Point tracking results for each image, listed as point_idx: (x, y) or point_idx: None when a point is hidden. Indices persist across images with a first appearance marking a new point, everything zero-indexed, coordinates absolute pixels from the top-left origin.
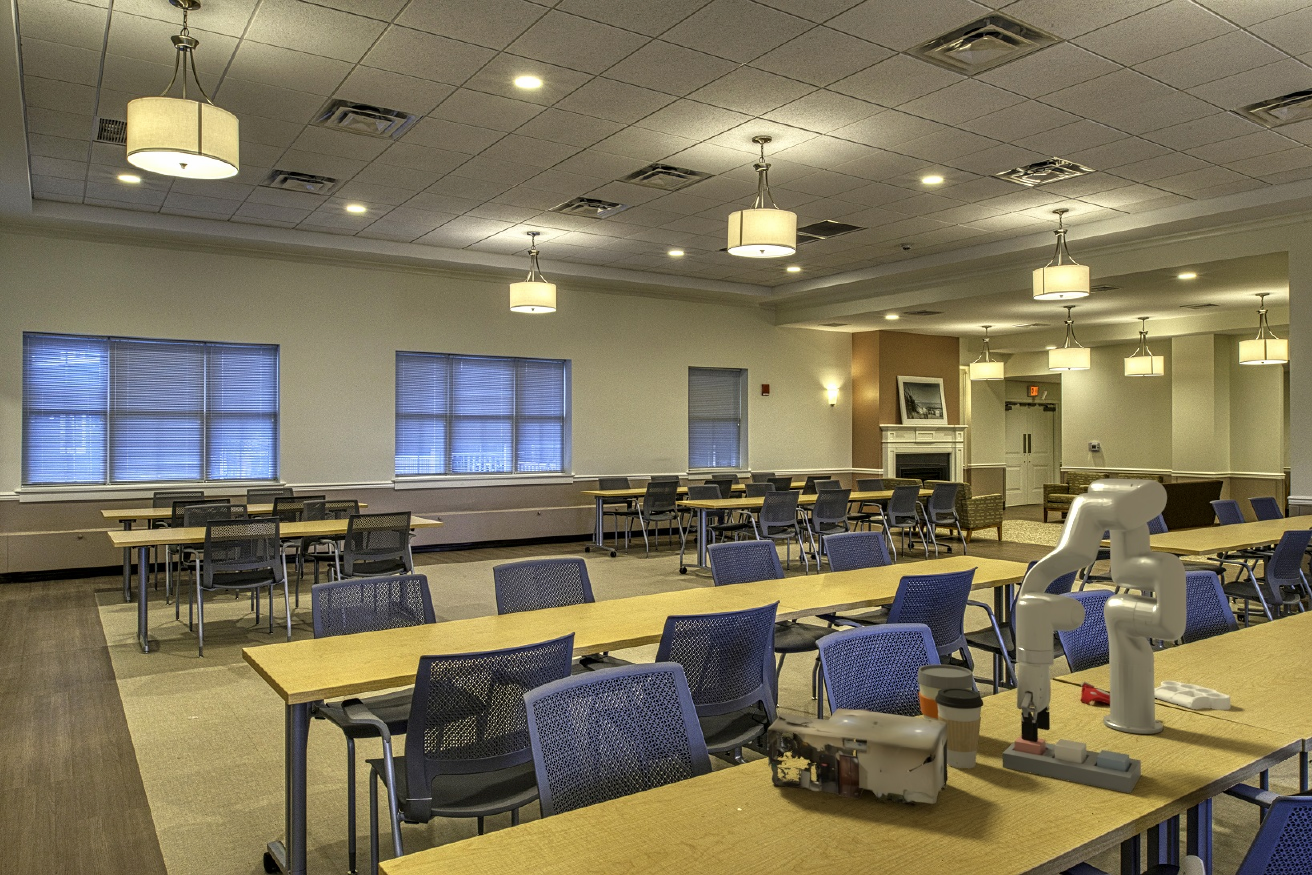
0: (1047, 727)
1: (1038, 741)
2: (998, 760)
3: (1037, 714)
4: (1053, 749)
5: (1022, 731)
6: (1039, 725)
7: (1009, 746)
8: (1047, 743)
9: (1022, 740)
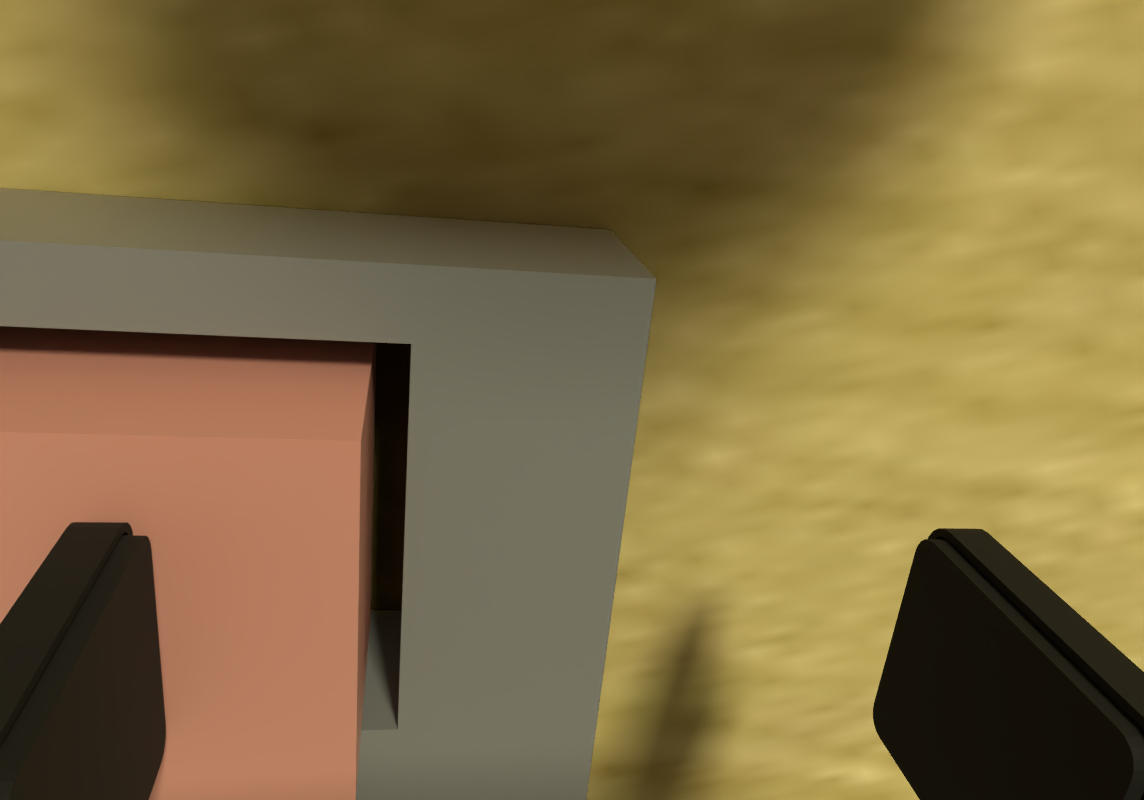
0: (888, 740)
1: (164, 751)
2: (10, 39)
3: (1060, 758)
4: (358, 786)
5: (17, 622)
6: (930, 636)
7: (52, 243)
8: (590, 672)
9: (9, 539)
